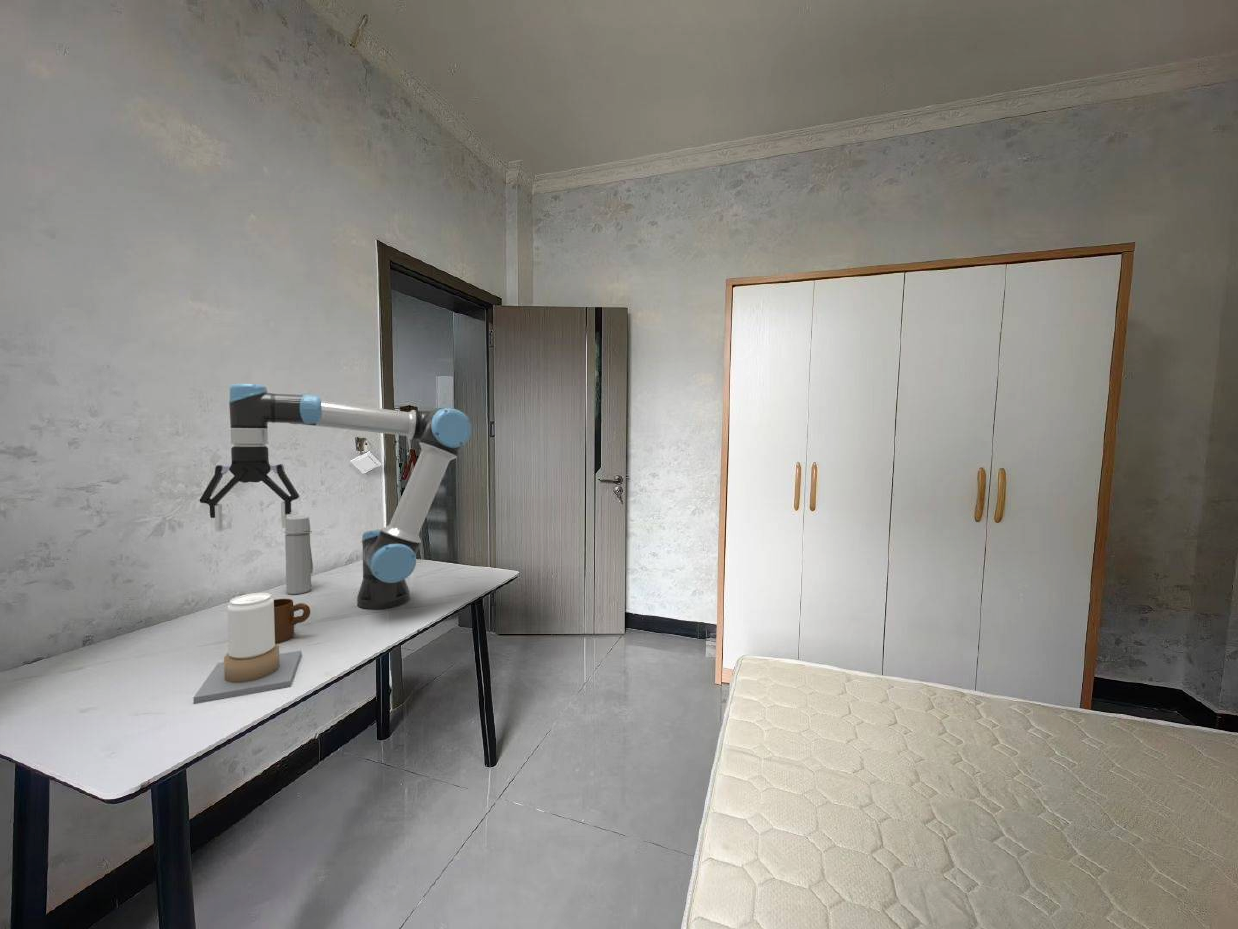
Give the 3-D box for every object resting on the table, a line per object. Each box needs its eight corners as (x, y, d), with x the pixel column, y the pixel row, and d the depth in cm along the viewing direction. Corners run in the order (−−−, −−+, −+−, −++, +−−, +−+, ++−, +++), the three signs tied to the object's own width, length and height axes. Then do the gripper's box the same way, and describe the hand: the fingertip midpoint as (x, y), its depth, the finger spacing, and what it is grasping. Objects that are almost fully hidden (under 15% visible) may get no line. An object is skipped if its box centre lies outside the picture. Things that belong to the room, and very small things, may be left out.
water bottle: (300, 596, 160) (298, 520, 158) (279, 594, 162) (277, 519, 160) (322, 587, 169) (320, 515, 167) (302, 585, 171) (301, 514, 169)
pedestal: (301, 655, 118) (300, 632, 118) (290, 686, 104) (289, 660, 103) (218, 668, 111) (217, 644, 111) (193, 703, 97) (192, 675, 96)
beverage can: (245, 644, 111) (243, 592, 110) (283, 643, 111) (281, 591, 111) (219, 661, 103) (217, 604, 102) (260, 660, 103) (258, 604, 103)
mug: (317, 631, 132) (317, 597, 131) (303, 643, 124) (302, 607, 124) (269, 633, 131) (268, 598, 130) (252, 645, 123) (250, 608, 122)
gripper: (309, 445, 133) (311, 523, 134) (192, 445, 122) (195, 529, 123) (305, 446, 126) (307, 527, 127) (180, 445, 115) (184, 535, 117)
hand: (252, 528), depth 125 cm, fingers open, 13 cm apart
